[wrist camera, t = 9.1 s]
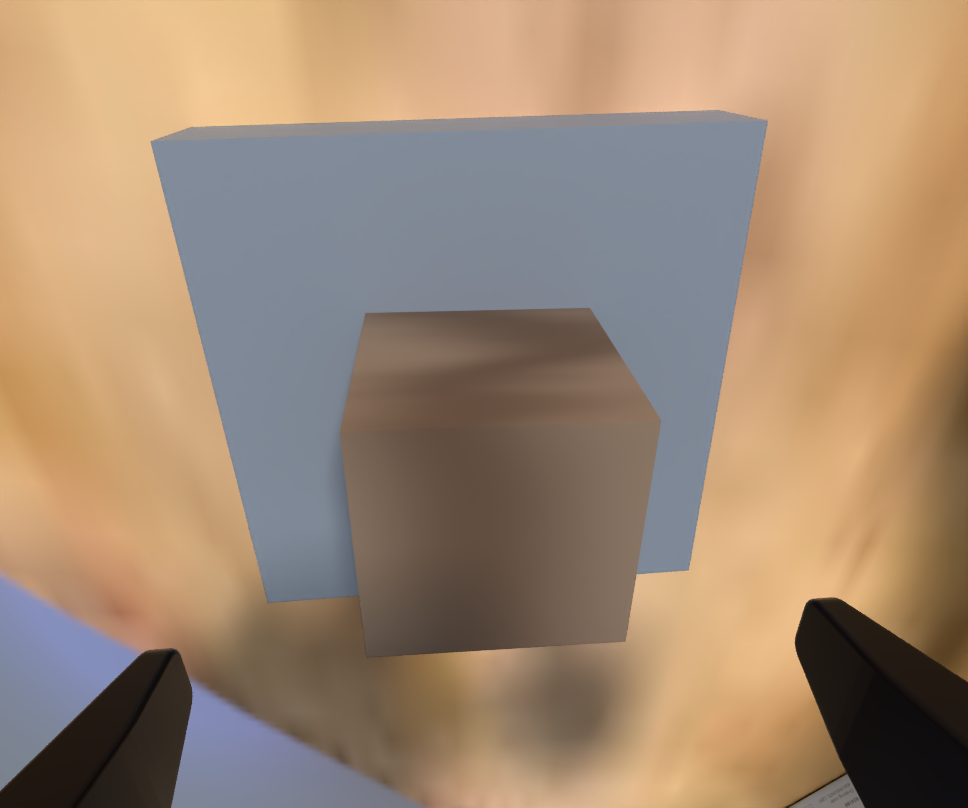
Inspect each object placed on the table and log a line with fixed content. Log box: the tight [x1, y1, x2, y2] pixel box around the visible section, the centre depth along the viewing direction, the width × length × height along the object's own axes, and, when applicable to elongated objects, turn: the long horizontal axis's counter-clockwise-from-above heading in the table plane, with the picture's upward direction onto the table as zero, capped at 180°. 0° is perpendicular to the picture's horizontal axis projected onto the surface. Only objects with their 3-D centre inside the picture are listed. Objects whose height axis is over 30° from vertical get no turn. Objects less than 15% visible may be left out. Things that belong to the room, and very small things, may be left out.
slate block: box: [151, 110, 768, 603], centre depth 17 cm, size 12×12×3 cm
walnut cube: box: [340, 308, 661, 658], centre depth 13 cm, size 5×5×5 cm
